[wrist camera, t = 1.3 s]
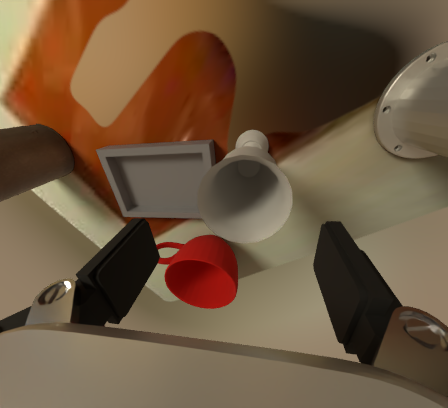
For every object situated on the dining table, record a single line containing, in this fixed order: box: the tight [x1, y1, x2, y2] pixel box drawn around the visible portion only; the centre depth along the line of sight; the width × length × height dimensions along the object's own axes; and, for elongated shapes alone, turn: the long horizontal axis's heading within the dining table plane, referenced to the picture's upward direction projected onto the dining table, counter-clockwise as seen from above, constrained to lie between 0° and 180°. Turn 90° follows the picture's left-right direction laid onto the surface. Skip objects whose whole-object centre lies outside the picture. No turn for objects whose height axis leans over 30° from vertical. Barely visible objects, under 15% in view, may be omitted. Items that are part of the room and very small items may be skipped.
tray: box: [96, 140, 216, 219], centre depth 33 cm, size 19×13×3 cm
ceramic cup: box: [156, 235, 238, 309], centre depth 36 cm, size 13×17×10 cm
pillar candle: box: [0, 124, 74, 202], centre depth 29 cm, size 10×10×15 cm
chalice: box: [197, 130, 292, 243], centre depth 21 cm, size 7×7×18 cm
